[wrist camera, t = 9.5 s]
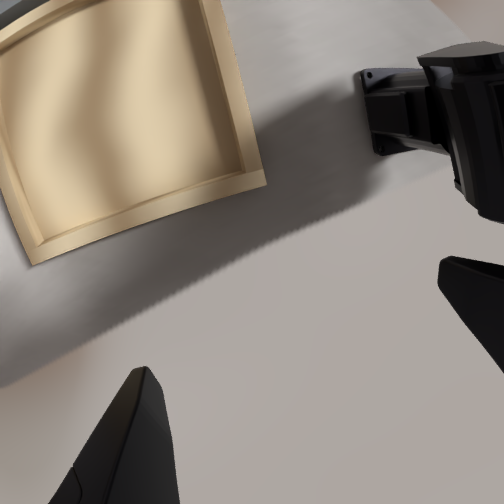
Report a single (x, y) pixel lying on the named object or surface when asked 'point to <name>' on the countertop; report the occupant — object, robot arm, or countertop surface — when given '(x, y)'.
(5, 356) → the countertop surface
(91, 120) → the dish
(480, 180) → the robot arm
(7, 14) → the tray
